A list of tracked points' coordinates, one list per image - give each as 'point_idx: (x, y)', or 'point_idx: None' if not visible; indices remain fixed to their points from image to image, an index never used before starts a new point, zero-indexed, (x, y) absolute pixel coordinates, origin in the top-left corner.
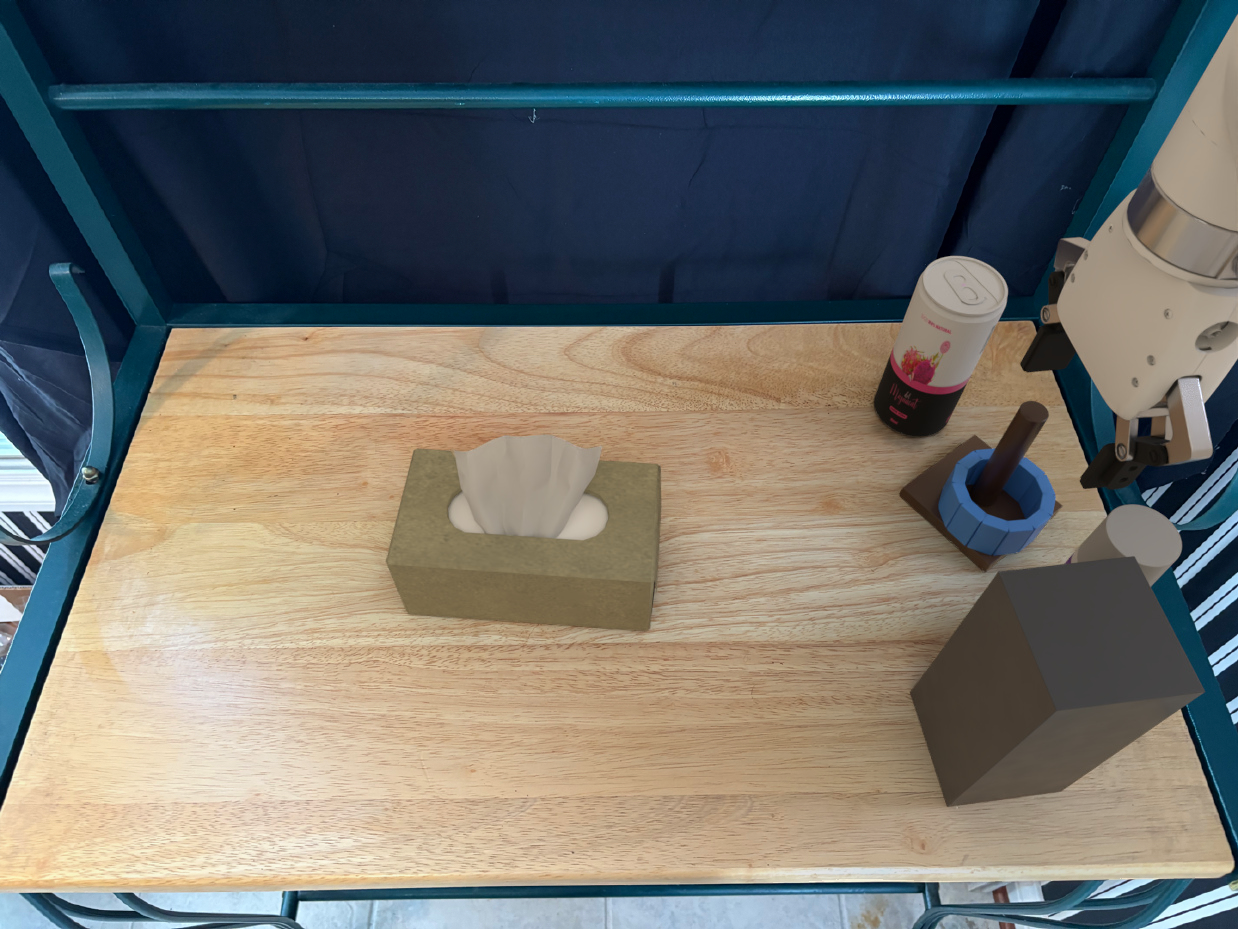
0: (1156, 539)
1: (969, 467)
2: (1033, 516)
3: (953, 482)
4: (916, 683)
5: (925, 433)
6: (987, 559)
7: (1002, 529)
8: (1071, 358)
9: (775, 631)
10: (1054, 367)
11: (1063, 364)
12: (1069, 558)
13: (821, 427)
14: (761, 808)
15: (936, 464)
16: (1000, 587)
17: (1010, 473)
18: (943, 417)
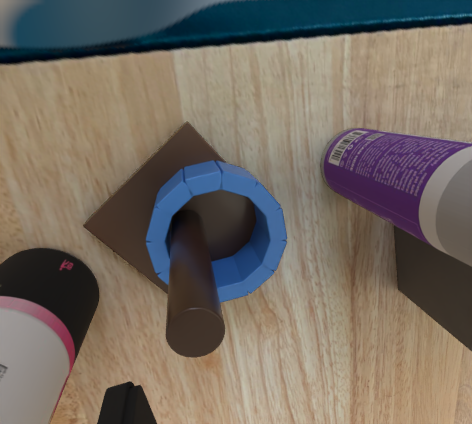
0: None
1: None
2: (261, 207)
3: None
4: (411, 300)
5: (94, 283)
6: None
7: (284, 248)
8: (132, 418)
9: (342, 388)
10: (150, 418)
11: (141, 408)
12: (427, 243)
13: (104, 378)
14: (468, 379)
15: (146, 274)
16: None
17: (207, 245)
18: (77, 283)
